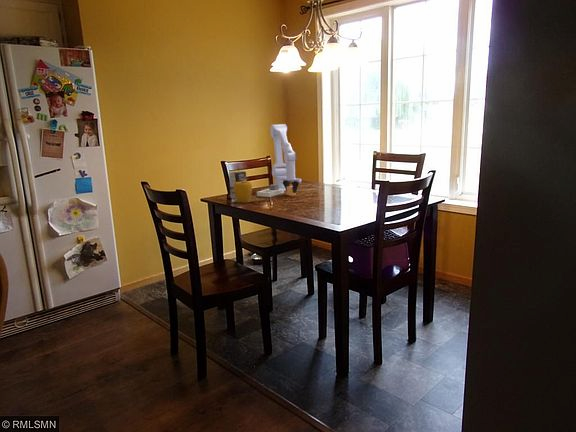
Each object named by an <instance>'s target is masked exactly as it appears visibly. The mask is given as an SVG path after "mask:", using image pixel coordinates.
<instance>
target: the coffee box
mask: <svg viewBox="0 0 576 432" xmlns="http://www.w3.org/2000/svg"><path fill="white" fill-rule="evenodd" d="M246 172H247V171H243V170H242V171H240V170H238V171H232V172H229V175H228V176H229V194H230V199H235V200H237V199H236V197H235V193H234V183H236V182H242V181H247V173H246Z"/></svg>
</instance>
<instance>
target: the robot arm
mask: <svg viewBox="0 0 576 432" xmlns="http://www.w3.org/2000/svg"><path fill="white" fill-rule="evenodd" d="M269 130H270V137H271V138H272V139H273V147H274V158H275V163H274V164H273V165H272V166H271V175H272V177H273V178H274V184H278V188H279V189H284V192H286V194H287V187H288V186H290V184H292V185H291V186H293V193H297V190H298V187H299V185H300V183H302V178H298V177H297V178H296V161H297V154H296V152H295V151H294V150H293V147H292V146H291V145H292V144H291V143H290V142H289V141H288V136H287V131H288V126H287V125H286V123H281V124H270V127H269ZM283 155H284V156H283ZM283 157H284V158H283ZM283 159H284V161H283Z"/></svg>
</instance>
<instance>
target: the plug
mask: <svg viewBox="0 0 576 432" xmlns="http://www.w3.org/2000/svg"><path fill="white" fill-rule="evenodd" d="M296 193H297V192H296ZM296 193H293V185H289V186H288V187H287V193H286V196H291V197H292V196H296Z"/></svg>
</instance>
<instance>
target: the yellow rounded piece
mask: <svg viewBox="0 0 576 432" xmlns="http://www.w3.org/2000/svg"><path fill="white" fill-rule="evenodd" d="M234 193H235V197H236V199H235V200H236V201H237V202H239V203H242V204H245V203H248V202H250V199H251V197H252V193H253V185H252V182H250V181H247V180H246V181H242V182H236V183H234Z"/></svg>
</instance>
